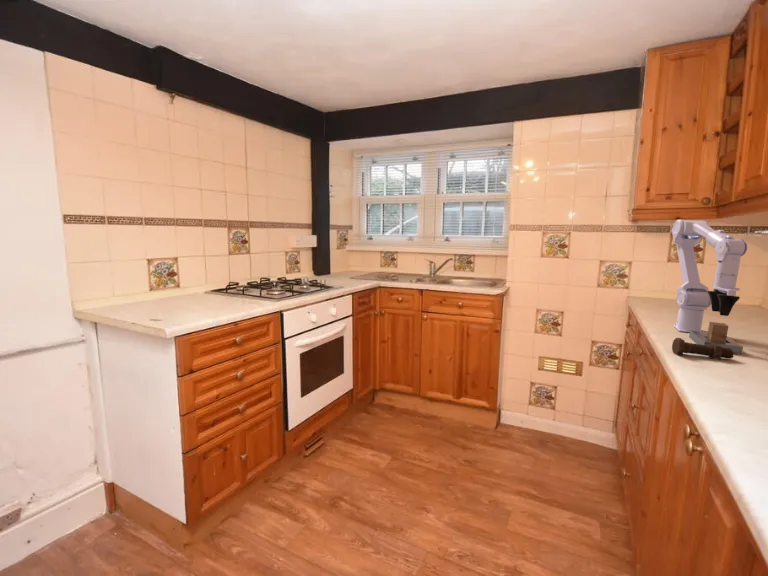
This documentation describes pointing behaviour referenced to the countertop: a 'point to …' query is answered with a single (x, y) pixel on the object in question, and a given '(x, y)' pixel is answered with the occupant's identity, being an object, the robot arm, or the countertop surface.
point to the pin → (717, 332)
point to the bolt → (701, 349)
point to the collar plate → (702, 339)
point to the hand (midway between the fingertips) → (719, 313)
